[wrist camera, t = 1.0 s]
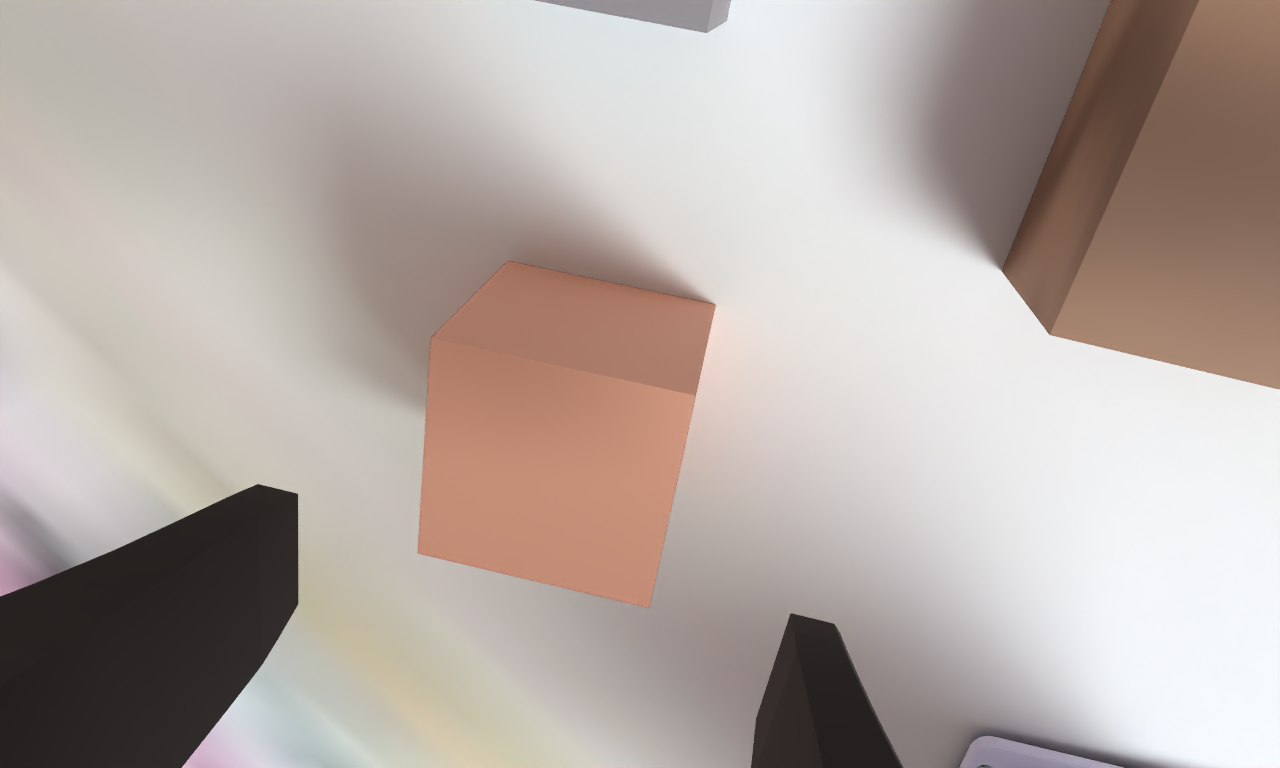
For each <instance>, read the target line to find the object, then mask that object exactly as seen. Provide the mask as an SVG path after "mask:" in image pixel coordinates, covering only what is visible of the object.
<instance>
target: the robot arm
mask: <svg viewBox="0 0 1280 768" xmlns="http://www.w3.org/2000/svg"><path fill="white" fill-rule="evenodd" d="M297 605H298V494H296V493H292V492H288V491H284V490H280V489H276V488H272V487H268V486H263V485H259V484H257V485H255V486H253V487H250V488H248V489H245V490H243V491H241V492H238V493H236V494H234V495H232V496H230V497H227V498H225V499H223V500H221V501H219V502H217V503H214V504H212V505H210V506H208V507H206V508H204V509H202V510H200V511H198V512H195V513H193V514H191V515H189V516H187V517H185V518H183V519H181V520H179V521H176V522H174V523H172V524H170V525H168V526H166V527H163V528H161V529H159V530H157V531H155V532H153V533H150V534H148V535H146V536H144V537H142V538H140V539H137V540H135V541H133V542H131V543H129V544H127V545H124V546H122V547H120V548H118V549H116V550H113V551H111V552H109V553H106V554H104V555H102V556H99V557H97V558H94V559H92V560H90V561H87V562H85V563H82V564H80V565H78V566H75V567H73V568H71V569H68V570H66V571H63V572H61V573H59V574H56V575H54V576H51V577H49V578H47V579H44V580H42V581H40V582H37V583H35V584H32V585H30V586H27V587H24V588H22V589H19V590H17V591H14V592H11V593H8V594H6V595H3V596H0V768H182V766H183V765H184V764H185V763H186V761H187V760H188V759H189V758H190V756H191V755H192V754H193V753H194V751H195V750H196V749H197V747H198V746H199V745H200V744H201V742H202V741H203V740H204V739H205V737H206V736H207V735H208V734H209V732H210V731H211V730H212V729H213V727H214V726H215V725H216V723H217V722H218V721H219V720H220V718H221V717H222V716H223V715H224V713H225V712H226V711H227V710H228V708H229V707H230V706H231V704H232V703H233V702H234V701H235V699H236V698H237V697H238V695H239V694H240V693H241V692H242V690H243V689H244V688H245V686H246V685H247V684H248V683H249V681H250V680H251V679H252V677H253V676H254V675H255V673H256V672H257V671H258V669H259V668H260V667H261V665H262V664H263V662H264V661H265V659H266V658H267V656H268V654H269V653H270V651H271V649H272V648H273V646H274V645H275V643H276V641H277V640H278V638H279V636H280V635H281V633H282V631H283V629H284V628H285V626H286V624H287V623H288V621H289V619H290V617H291V616H292V614H293V612H294V610H295V609H296V607H297ZM981 765H989V766H985V767H978V766H981ZM751 768H903V766H902V764H901V762H900V760H899V758H898V756H897V755H896V753H895V751H894V749H893V747H892V745H891V743H890V741H889V739H888V737H887V735H886V733H885V731H884V729H883V727H882V725H881V723H880V721H879V719H878V717H877V715H876V713H875V711H874V709H873V707H872V705H871V703H870V701H869V698H868V696H867V694H866V692H865V690H864V688H863V685H862V683H861V681H860V679H859V677H858V674H857V672H856V670H855V668H854V665H853V663H852V661H851V658H850V656H849V654H848V651H847V649H846V647H845V644H844V642H843V639H842V637H841V635H840V632H839V631H838V629H837V627H836V626H835V624H833V623H828V622H824V621H820V620H816V619H812V618H808V617H804V616H800V615H795V614H790V617H789V620H788V623H787V626H786V629H785V632H784V635H783V639H782V642H781V645H780V648H779V651H778V654H777V657H776V660H775V663H774V666H773V669H772V672H771V675H770V678H769V681H768V684H767V687H766V690H765V693H764V697H763V700H762V703H761V706H760V709H759V712H758V715H757V718H756V726H755V735H754V745H753V755H752V765H751ZM959 768H1124V767H1119V766H1115V765H1111V764H1107V763H1103V762H1099V761H1094V760H1090V759H1086V758H1082V757H1078V756H1074V755H1069V754H1065V753H1061V752H1057V751H1053V750H1049V749H1044V748H1040V747H1036V746H1032V745H1028V744H1024V743H1019V742H1015V741H1011V740H1007V739H1003V738H999V737H994V736H983V737H979V738H977V739H975V740H974V741H973V742H972V743H971V744H970V746H969V748H968V751H967V753H966V755H965V757H964V759H963V761H962V763H961V765H960V767H959Z"/></svg>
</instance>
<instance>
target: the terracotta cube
mask: <svg viewBox="0 0 1280 768" xmlns="http://www.w3.org/2000/svg"><path fill="white" fill-rule="evenodd" d="M714 310H715V305H714V304H710V303H705V302H700V301H696V300H691V299H686V298H681V297H677V296H672V295H667V294H662V293H658V292H653V291H648V290H643V289H639V288H634V287H629V286H624V285H620V284H615V283H610V282H606V281H601V280H596V279H591V278H587V277H582V276H577V275H572V274H568V273H563V272H558V271H553V270H549V269H544V268H539V267H534V266H530V265H525V264H520V263H515V262H511V261H507V262H506V263H505V264H504V265H503V266H502V267H501V268H500V269H499V270H498V271H497V272H496V273H495V274H494V275H493V276H492V277H491V278H490V279H489V280H488V281H487V282H486V283H485V284H484V285H483V286H482V287H481V288H480V289H479V290H478V291H477V292H476V293H475V294H474V295H473V296H472V297H471V298H470V299H469V300H468V301H467V302H466V303H465V304H464V305H463V306H462V307H461V308H460V309H459V310H458V311H457V312H456V313H455V314H454V315H453V316H452V317H451V318H450V319H449V320H448V321H447V322H446V323H445V324H444V325H443V326H442V327H441V328H440V329H439V330H438V331H437V332H436V333H435V334H434V335H433V336H432V337H431V343H430V359H429V375H428V391H427V408H426V424H425V440H424V456H423V473H422V489H421V505H420V522H419V538H418V554H422V555H426V556H431V557H435V558H439V559H443V560H448V561H452V562H456V563H460V564H464V565H469V566H473V567H477V568H481V569H486V570H490V571H494V572H498V573H503V574H507V575H511V576H515V577H520V578H524V579H528V580H532V581H536V582H541V583H545V584H549V585H553V586H558V587H562V588H566V589H570V590H575V591H579V592H583V593H587V594H592V595H596V596H600V597H604V598H609V599H613V600H617V601H621V602H625V603H630V604H634V605H638V606H642V607H647V608H650V603H651V599H652V594H653V589H654V585H655V580H656V576H657V571H658V567H659V562H660V557H661V553H662V548H663V544H664V539H665V534H666V530H667V525H668V521H669V516H670V512H671V507H672V502H673V498H674V493H675V489H676V484H677V480H678V475H679V470H680V466H681V461H682V457H683V452H684V448H685V443H686V438H687V434H688V429H689V425H690V420H691V415H692V411H693V406H694V402H695V397H696V393H697V388H698V383H699V379H700V374H701V370H702V365H703V360H704V356H705V351H706V347H707V342H708V338H709V333H710V328H711V324H712V319H713V315H714Z"/></svg>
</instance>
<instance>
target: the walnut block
mask: <svg viewBox="0 0 1280 768" xmlns="http://www.w3.org/2000/svg"><path fill="white" fill-rule="evenodd" d="M1002 272H1003V273H1004V275H1005V276H1006V277H1007V279H1008V280H1009V281H1010V283H1011V284H1012V285H1013V287H1014V288H1015V289H1016V291H1017V292H1018V293H1019V295H1020V296H1021V297H1022V299H1023V300H1024V301H1025V303H1026V304H1027V305H1028V307H1029V308H1030V309H1031V311H1032V312H1033V313H1034V315H1035V316H1036V317H1037V319H1038V320H1039V321H1040V323H1041V324H1042V325H1043V327H1044V328H1045V329H1046V331H1047V332H1048V333H1049V335H1052V336H1057V337H1061V338H1065V339H1069V340H1073V341H1078V342H1082V343H1086V344H1090V345H1095V346H1099V347H1103V348H1107V349H1111V350H1116V351H1120V352H1124V353H1128V354H1132V355H1137V356H1141V357H1145V358H1149V359H1154V360H1158V361H1162V362H1166V363H1170V364H1175V365H1179V366H1183V367H1187V368H1191V369H1196V370H1200V371H1204V372H1208V373H1212V374H1217V375H1221V376H1225V377H1229V378H1234V379H1238V380H1242V381H1246V382H1250V383H1255V384H1259V385H1263V386H1267V387H1271V388H1276V389H1280V0H1111V3H1110V5H1109V8H1108V10H1107V13H1106V15H1105V18H1104V20H1103V23H1102V25H1101V27H1100V30H1099V32H1098V35H1097V37H1096V40H1095V42H1094V45H1093V47H1092V50H1091V52H1090V55H1089V57H1088V60H1087V62H1086V65H1085V67H1084V69H1083V72H1082V74H1081V77H1080V79H1079V82H1078V84H1077V87H1076V89H1075V92H1074V94H1073V97H1072V99H1071V102H1070V104H1069V107H1068V109H1067V111H1066V114H1065V116H1064V119H1063V121H1062V124H1061V126H1060V129H1059V131H1058V134H1057V136H1056V139H1055V141H1054V144H1053V146H1052V149H1051V151H1050V154H1049V156H1048V158H1047V161H1046V163H1045V166H1044V168H1043V171H1042V173H1041V176H1040V178H1039V181H1038V183H1037V186H1036V188H1035V191H1034V193H1033V196H1032V198H1031V200H1030V203H1029V205H1028V208H1027V210H1026V213H1025V215H1024V218H1023V220H1022V223H1021V225H1020V228H1019V230H1018V233H1017V235H1016V238H1015V240H1014V242H1013V245H1012V247H1011V250H1010V252H1009V255H1008V257H1007V260H1006V262H1005V265H1004V267H1003V270H1002Z"/></svg>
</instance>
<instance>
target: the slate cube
mask: <svg viewBox="0 0 1280 768" xmlns="http://www.w3.org/2000/svg"><path fill="white" fill-rule="evenodd" d="M536 1H541V2H546V3H551V4H557V5H562V6H567V7H573V8H578V9H583V10H588V11H594V12H599V13H604V14H609V15H615V16H620V17H625V18H631V19H636V20H641V21H646V22H652V23H657V24H662V25H667V26H673V27H678V28H683V29H689V30H694V31H699V32H704V33H708V32H709V31H711V30H712V29H714V28H716V27H717V26H719V25H720V24H722V23H724V22H725V21H727V17H728V12H729V7H730V2H731V0H536Z"/></svg>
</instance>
